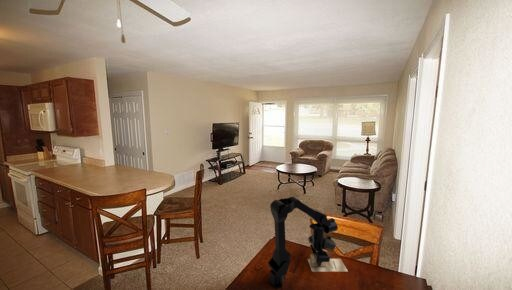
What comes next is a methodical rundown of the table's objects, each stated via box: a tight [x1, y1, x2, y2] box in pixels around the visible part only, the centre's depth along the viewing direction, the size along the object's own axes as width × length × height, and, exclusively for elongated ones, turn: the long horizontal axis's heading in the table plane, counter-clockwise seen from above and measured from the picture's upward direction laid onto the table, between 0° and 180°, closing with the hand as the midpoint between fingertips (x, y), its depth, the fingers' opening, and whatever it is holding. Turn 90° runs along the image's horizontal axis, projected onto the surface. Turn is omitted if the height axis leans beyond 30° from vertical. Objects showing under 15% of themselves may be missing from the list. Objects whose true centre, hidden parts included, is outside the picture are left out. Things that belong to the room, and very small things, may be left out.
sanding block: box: [309, 253, 326, 267], centre depth 113 cm, size 7×4×4 cm, turn 90°
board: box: [307, 258, 349, 273], centre depth 114 cm, size 18×10×1 cm, turn 90°
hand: (317, 263), depth 114 cm, fingers closed on sanding block, 4 cm apart
